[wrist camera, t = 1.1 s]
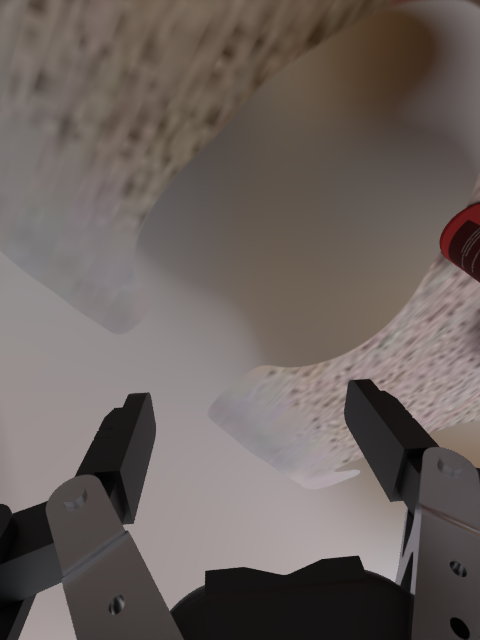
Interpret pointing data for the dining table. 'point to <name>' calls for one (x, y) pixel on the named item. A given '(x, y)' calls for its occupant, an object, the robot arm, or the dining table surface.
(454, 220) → the canned food
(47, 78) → the dining table surface
